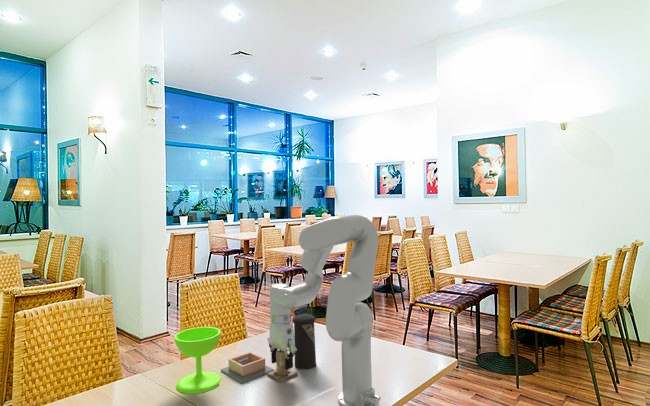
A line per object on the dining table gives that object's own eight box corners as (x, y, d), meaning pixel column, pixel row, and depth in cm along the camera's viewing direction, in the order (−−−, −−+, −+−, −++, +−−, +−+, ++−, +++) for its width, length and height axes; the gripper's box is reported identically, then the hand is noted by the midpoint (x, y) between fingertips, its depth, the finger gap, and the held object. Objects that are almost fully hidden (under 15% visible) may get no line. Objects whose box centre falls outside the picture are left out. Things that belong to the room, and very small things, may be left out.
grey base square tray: (273, 372, 153) (273, 358, 153) (241, 384, 144) (241, 370, 144) (251, 361, 164) (251, 348, 164) (220, 372, 155) (220, 358, 155)
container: (313, 371, 153) (312, 319, 153) (291, 370, 155) (289, 318, 155) (318, 362, 162) (317, 312, 162) (297, 361, 164) (295, 312, 163)
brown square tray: (297, 376, 149) (297, 372, 149) (280, 383, 144) (280, 379, 144) (284, 370, 155) (284, 366, 155) (267, 377, 150) (267, 373, 150)
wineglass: (175, 378, 151) (174, 330, 151) (219, 370, 156) (218, 324, 156) (176, 397, 136) (174, 344, 136) (224, 388, 141) (223, 337, 141)
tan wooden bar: (288, 375, 149) (287, 351, 149) (281, 378, 147) (280, 353, 147) (283, 372, 152) (282, 349, 151) (276, 375, 149) (276, 351, 149)
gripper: (303, 320, 145) (305, 369, 146) (275, 311, 158) (276, 356, 158) (287, 325, 140) (288, 375, 140) (258, 315, 153) (260, 361, 153)
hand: (282, 365), depth 149 cm, fingers open, 7 cm apart
